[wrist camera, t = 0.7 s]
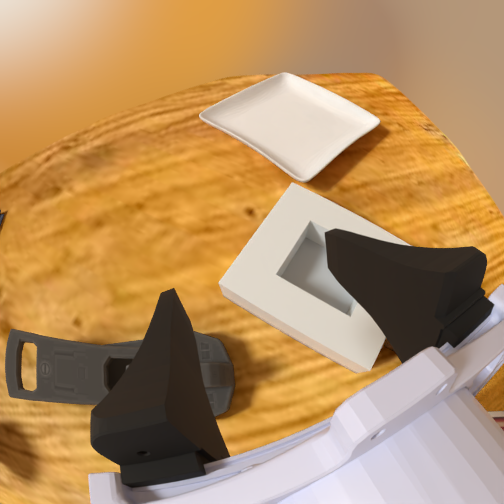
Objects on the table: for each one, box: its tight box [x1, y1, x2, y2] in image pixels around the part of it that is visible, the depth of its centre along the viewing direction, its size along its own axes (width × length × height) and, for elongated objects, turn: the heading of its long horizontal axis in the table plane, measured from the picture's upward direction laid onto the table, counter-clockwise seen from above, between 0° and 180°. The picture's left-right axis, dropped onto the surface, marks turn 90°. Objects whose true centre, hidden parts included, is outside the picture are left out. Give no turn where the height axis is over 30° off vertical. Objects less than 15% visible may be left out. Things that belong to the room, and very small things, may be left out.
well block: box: [219, 182, 411, 373], centre depth 28 cm, size 16×14×4 cm
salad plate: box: [199, 73, 380, 183], centre depth 41 cm, size 21×21×3 cm
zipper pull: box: [5, 329, 235, 417], centre depth 23 cm, size 9×7×25 cm
